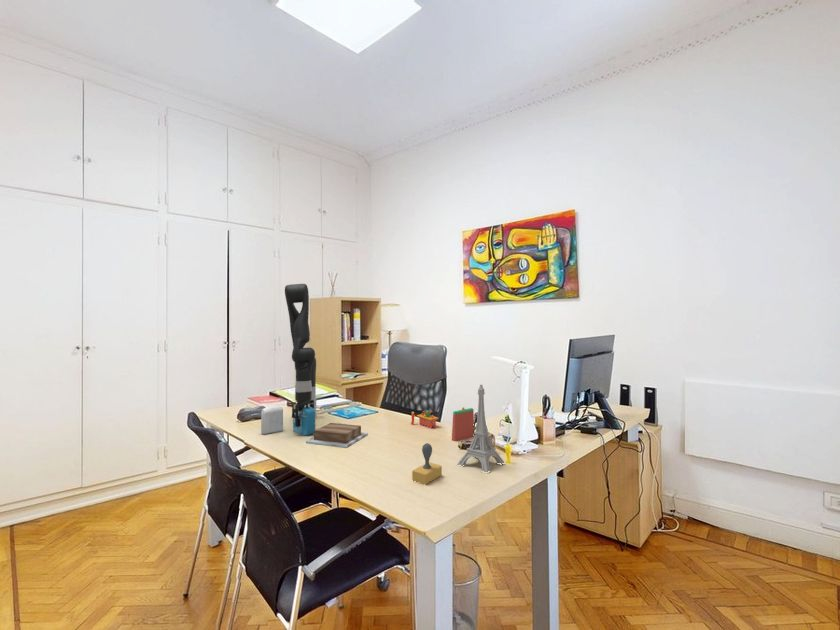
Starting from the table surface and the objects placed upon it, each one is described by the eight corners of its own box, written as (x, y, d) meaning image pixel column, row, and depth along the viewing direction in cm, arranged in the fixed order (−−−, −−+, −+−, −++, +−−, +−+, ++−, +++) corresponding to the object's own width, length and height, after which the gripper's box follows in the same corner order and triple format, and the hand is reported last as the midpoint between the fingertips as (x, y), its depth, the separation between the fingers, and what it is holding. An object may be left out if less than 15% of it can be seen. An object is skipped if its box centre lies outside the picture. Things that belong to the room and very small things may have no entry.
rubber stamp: (428, 472, 148) (428, 438, 148) (442, 475, 145) (442, 441, 145) (411, 481, 140) (411, 445, 140) (425, 485, 137) (425, 449, 137)
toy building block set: (454, 441, 184) (454, 409, 184) (408, 425, 211) (407, 397, 211) (474, 436, 191) (474, 405, 191) (427, 421, 219) (427, 394, 219)
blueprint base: (330, 430, 200) (330, 420, 200) (367, 434, 193) (367, 424, 193) (305, 443, 181) (305, 432, 181) (346, 448, 175) (346, 436, 175)
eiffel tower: (505, 463, 156) (505, 384, 156) (487, 474, 146) (487, 389, 146) (475, 456, 165) (475, 380, 165) (456, 465, 155) (456, 385, 155)
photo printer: (280, 429, 203) (280, 403, 203) (284, 430, 200) (284, 405, 200) (259, 433, 196) (259, 407, 196) (263, 435, 193) (263, 408, 193)
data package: (292, 431, 199) (292, 406, 199) (301, 429, 202) (301, 404, 202) (307, 436, 191) (307, 410, 191) (315, 434, 195) (315, 408, 194)
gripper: (305, 387, 205) (305, 420, 204) (287, 392, 191) (287, 427, 191) (318, 388, 202) (318, 421, 202) (301, 393, 189) (301, 428, 188)
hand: (303, 424), depth 196 cm, fingers open, 8 cm apart
